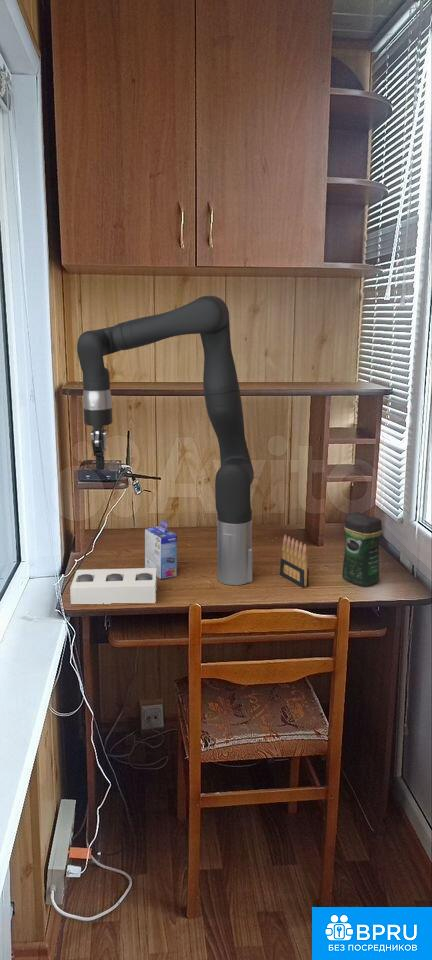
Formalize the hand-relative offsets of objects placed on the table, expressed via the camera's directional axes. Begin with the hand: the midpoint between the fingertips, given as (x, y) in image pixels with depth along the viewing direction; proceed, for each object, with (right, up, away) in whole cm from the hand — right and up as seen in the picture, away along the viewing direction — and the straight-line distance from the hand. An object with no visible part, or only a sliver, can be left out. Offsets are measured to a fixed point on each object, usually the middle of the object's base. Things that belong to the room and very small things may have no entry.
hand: (100, 469), depth 193 cm
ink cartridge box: (+16, -29, +4) cm, 34 cm away
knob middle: (+6, -31, -11) cm, 34 cm away
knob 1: (-2, -32, -11) cm, 34 cm away
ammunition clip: (+53, -30, -1) cm, 61 cm away
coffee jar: (+71, -30, -2) cm, 77 cm away
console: (+6, -33, -11) cm, 35 cm away
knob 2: (+13, -31, -11) cm, 36 cm away
